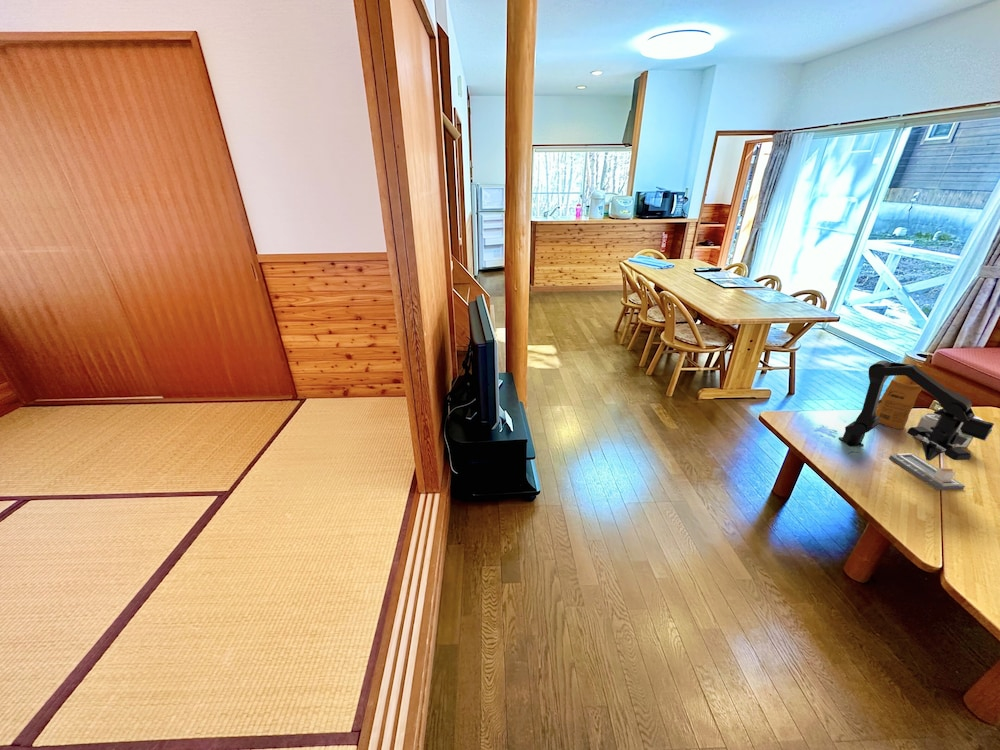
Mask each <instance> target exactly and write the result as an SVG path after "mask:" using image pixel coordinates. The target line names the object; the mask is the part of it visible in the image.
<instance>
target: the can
mask: <svg viewBox="0 0 1000 750" xmlns="http://www.w3.org/2000/svg"><path fill="white" fill-rule="evenodd" d="M939 417H940V415H937V414H934V412H932V413H931V412H926V413H925V414H923V415H922V416H921V418H920V419H919V421H918V423H917V426H916V427H924V428H926V429H928V430H929V431H931V432H932V429H930V428H931V427H933V426H935V425H936V423H937V421H938V419H939ZM914 438H916V439H917V440H919V441H923V439H924V438H923V437H922V436H921V435H919V434H918V436H914Z"/></svg>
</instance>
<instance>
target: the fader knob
mask: <svg viewBox="0 0 1000 750" xmlns="http://www.w3.org/2000/svg"><path fill="white" fill-rule="evenodd" d="M955 475H956V472H955V471H954V469H952V468H949V467H937V471H936V473H935V475H934V477H935V478H937V479H938V480H940V481H942V482H950V481H951V480H952V478H953V479H954V476H955Z"/></svg>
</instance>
